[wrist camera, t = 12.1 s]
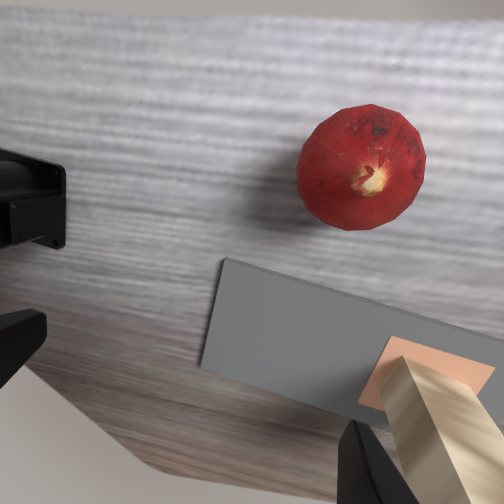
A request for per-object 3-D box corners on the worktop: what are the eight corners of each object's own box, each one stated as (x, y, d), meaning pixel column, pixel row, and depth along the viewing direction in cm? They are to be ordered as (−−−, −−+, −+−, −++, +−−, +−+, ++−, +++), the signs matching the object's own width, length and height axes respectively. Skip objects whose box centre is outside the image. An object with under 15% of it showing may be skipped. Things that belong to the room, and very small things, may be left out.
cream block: (378, 386, 22) (467, 686, 10) (402, 355, 20) (540, 653, 8) (441, 416, 21) (613, 759, 9) (469, 386, 20) (708, 734, 8)
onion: (319, 102, 17) (327, 64, 9) (417, 131, 17) (506, 115, 9) (286, 198, 19) (273, 229, 12) (373, 226, 19) (416, 276, 11)
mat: (202, 363, 25) (199, 368, 24) (226, 257, 21) (224, 260, 20) (467, 452, 23) (471, 460, 22) (543, 352, 19) (551, 358, 19)
